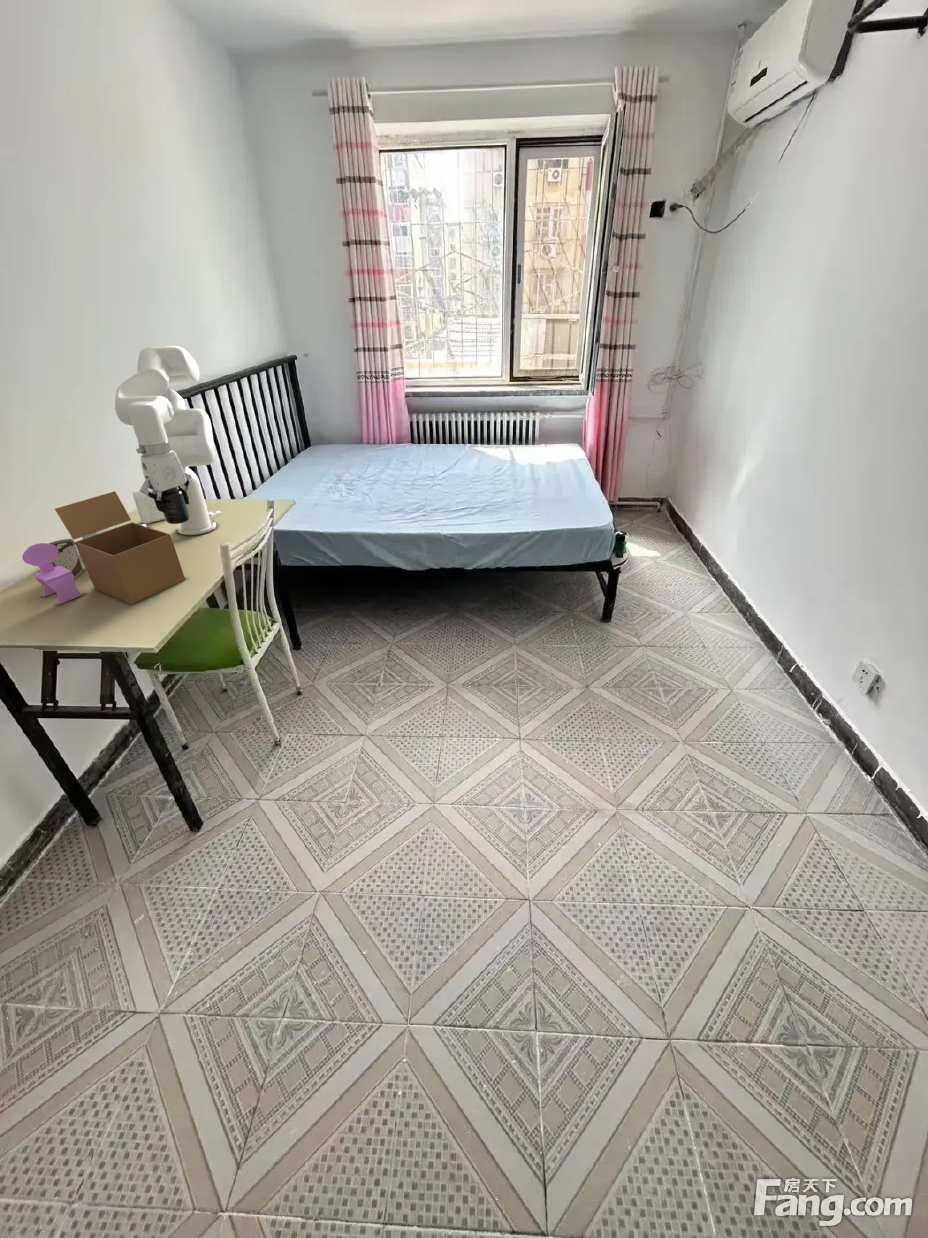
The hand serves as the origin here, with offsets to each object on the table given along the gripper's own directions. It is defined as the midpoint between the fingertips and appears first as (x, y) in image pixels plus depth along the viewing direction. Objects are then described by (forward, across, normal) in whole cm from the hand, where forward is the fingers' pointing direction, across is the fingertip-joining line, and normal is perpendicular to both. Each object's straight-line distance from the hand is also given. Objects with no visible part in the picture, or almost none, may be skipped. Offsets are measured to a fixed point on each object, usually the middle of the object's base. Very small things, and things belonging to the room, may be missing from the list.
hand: (174, 507), depth 158 cm
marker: (+17, +1, +28) cm, 33 cm away
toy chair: (+16, -35, +7) cm, 39 cm away
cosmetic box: (+17, -11, +28) cm, 35 cm away
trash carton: (+16, -20, -5) cm, 26 cm away
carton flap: (-3, -19, +6) cm, 20 cm away
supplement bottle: (+5, 0, 0) cm, 5 cm away
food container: (+16, -29, +18) cm, 38 cm away
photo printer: (+17, +13, +36) cm, 42 cm away
